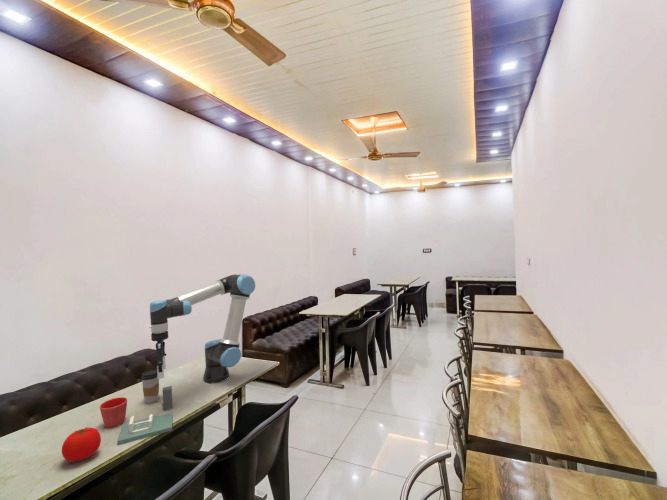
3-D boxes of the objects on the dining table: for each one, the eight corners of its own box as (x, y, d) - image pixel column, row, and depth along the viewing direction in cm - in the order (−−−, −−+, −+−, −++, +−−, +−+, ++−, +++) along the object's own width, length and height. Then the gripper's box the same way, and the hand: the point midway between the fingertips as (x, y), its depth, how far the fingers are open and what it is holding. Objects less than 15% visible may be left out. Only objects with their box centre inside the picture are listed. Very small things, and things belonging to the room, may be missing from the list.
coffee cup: (152, 405, 165) (151, 376, 165) (138, 404, 167) (137, 375, 167) (164, 397, 173) (162, 369, 173) (150, 396, 175) (149, 369, 175)
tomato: (99, 444, 132) (98, 418, 132) (103, 457, 123) (101, 430, 123) (62, 457, 124) (60, 430, 124) (62, 472, 116) (61, 443, 116)
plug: (172, 405, 164) (171, 385, 164) (172, 408, 160) (171, 388, 160) (162, 407, 162) (161, 387, 162) (162, 411, 158) (161, 390, 158)
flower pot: (98, 432, 141) (97, 410, 141) (102, 421, 151) (101, 400, 151) (126, 425, 146) (125, 404, 146) (129, 414, 156) (128, 395, 156)
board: (172, 415, 153) (171, 403, 153) (172, 430, 140) (171, 417, 140) (122, 427, 145) (122, 415, 144) (117, 444, 131) (116, 431, 131)
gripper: (153, 327, 171) (155, 367, 171) (148, 338, 148) (150, 384, 148) (169, 325, 174) (171, 364, 174) (166, 336, 151) (169, 380, 151)
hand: (161, 373), depth 161 cm, fingers open, 13 cm apart
